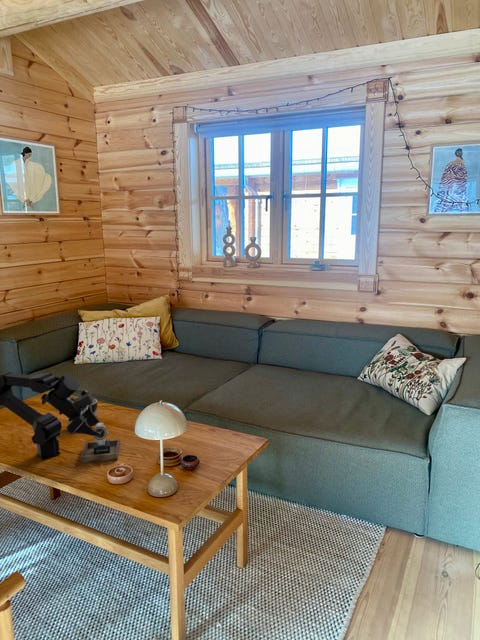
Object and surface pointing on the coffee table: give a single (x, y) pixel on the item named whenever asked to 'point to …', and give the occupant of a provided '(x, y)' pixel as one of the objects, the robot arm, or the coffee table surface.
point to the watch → (101, 440)
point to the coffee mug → (94, 410)
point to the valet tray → (89, 455)
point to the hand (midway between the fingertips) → (97, 429)
